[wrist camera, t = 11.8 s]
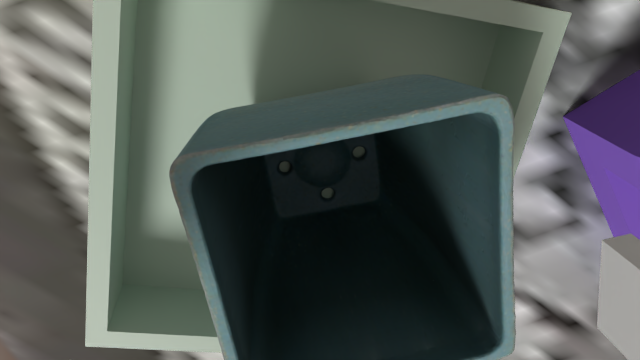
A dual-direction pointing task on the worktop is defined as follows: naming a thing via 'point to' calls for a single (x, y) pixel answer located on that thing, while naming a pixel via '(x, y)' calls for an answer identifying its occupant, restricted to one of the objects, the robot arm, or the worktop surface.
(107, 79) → the pale green square tray
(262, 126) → the flower pot
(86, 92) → the worktop surface
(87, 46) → the worktop surface
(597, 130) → the bracket
